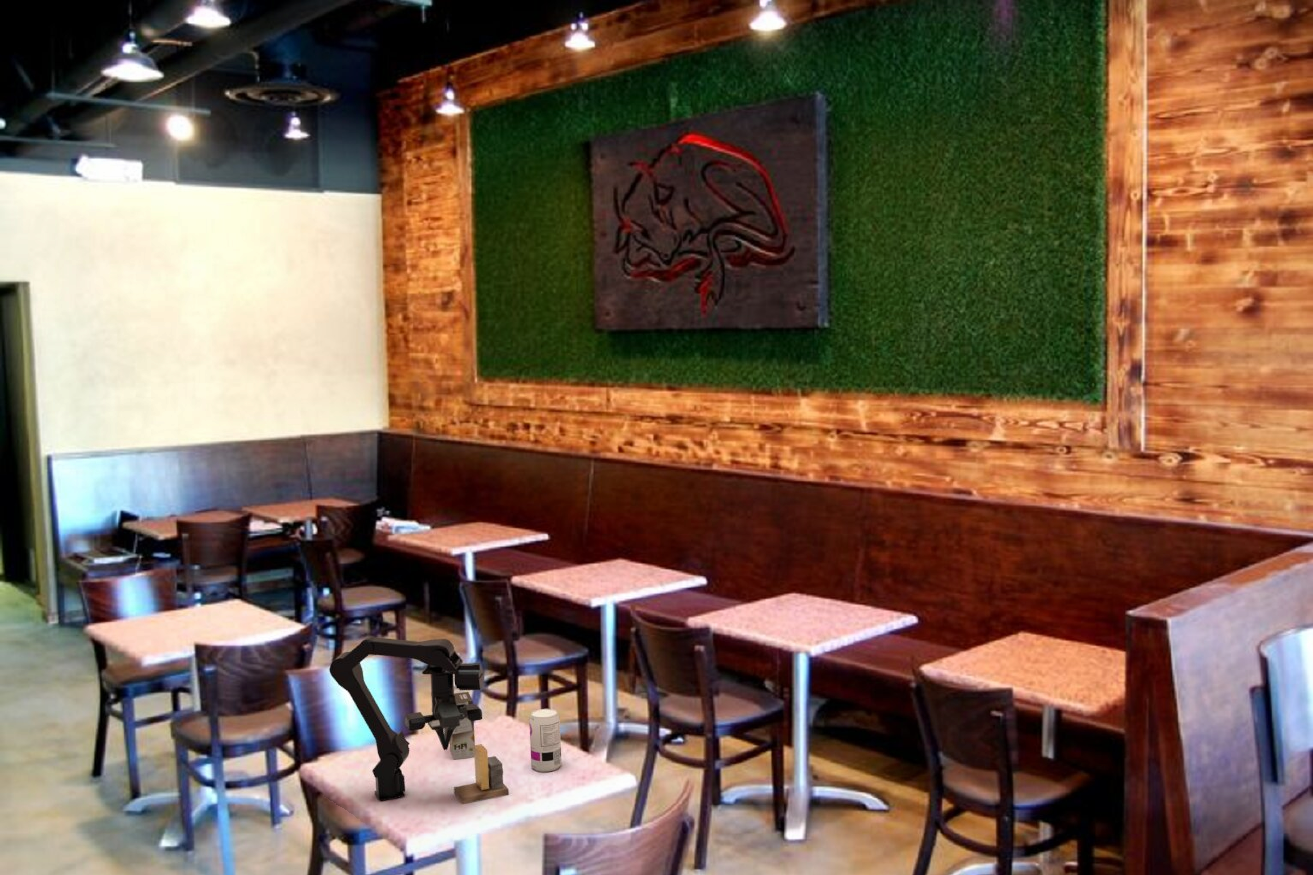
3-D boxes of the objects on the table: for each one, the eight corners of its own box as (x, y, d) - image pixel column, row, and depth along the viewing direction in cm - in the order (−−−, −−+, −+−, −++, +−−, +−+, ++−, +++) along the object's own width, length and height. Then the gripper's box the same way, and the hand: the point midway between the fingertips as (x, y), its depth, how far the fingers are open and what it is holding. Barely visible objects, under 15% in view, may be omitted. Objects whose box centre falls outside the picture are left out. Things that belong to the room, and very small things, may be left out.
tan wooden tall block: (481, 790, 303) (479, 751, 302) (475, 783, 307) (473, 745, 306) (505, 785, 305) (503, 747, 304) (499, 778, 310) (497, 741, 309)
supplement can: (527, 771, 319) (524, 717, 318) (537, 760, 327) (535, 707, 326) (555, 773, 317) (553, 718, 316) (565, 762, 325) (563, 708, 324)
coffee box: (476, 756, 332) (473, 700, 330) (453, 759, 330) (450, 703, 328) (471, 745, 340) (468, 691, 339) (448, 748, 338) (446, 693, 337)
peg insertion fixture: (462, 803, 299) (461, 772, 298) (454, 792, 306) (452, 762, 306) (508, 794, 304) (507, 763, 304) (498, 783, 312) (497, 754, 311)
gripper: (412, 704, 292) (415, 766, 293) (486, 693, 299) (489, 753, 301) (403, 691, 302) (406, 751, 303) (475, 681, 309) (477, 739, 311)
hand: (445, 749), depth 304 cm, fingers closed
